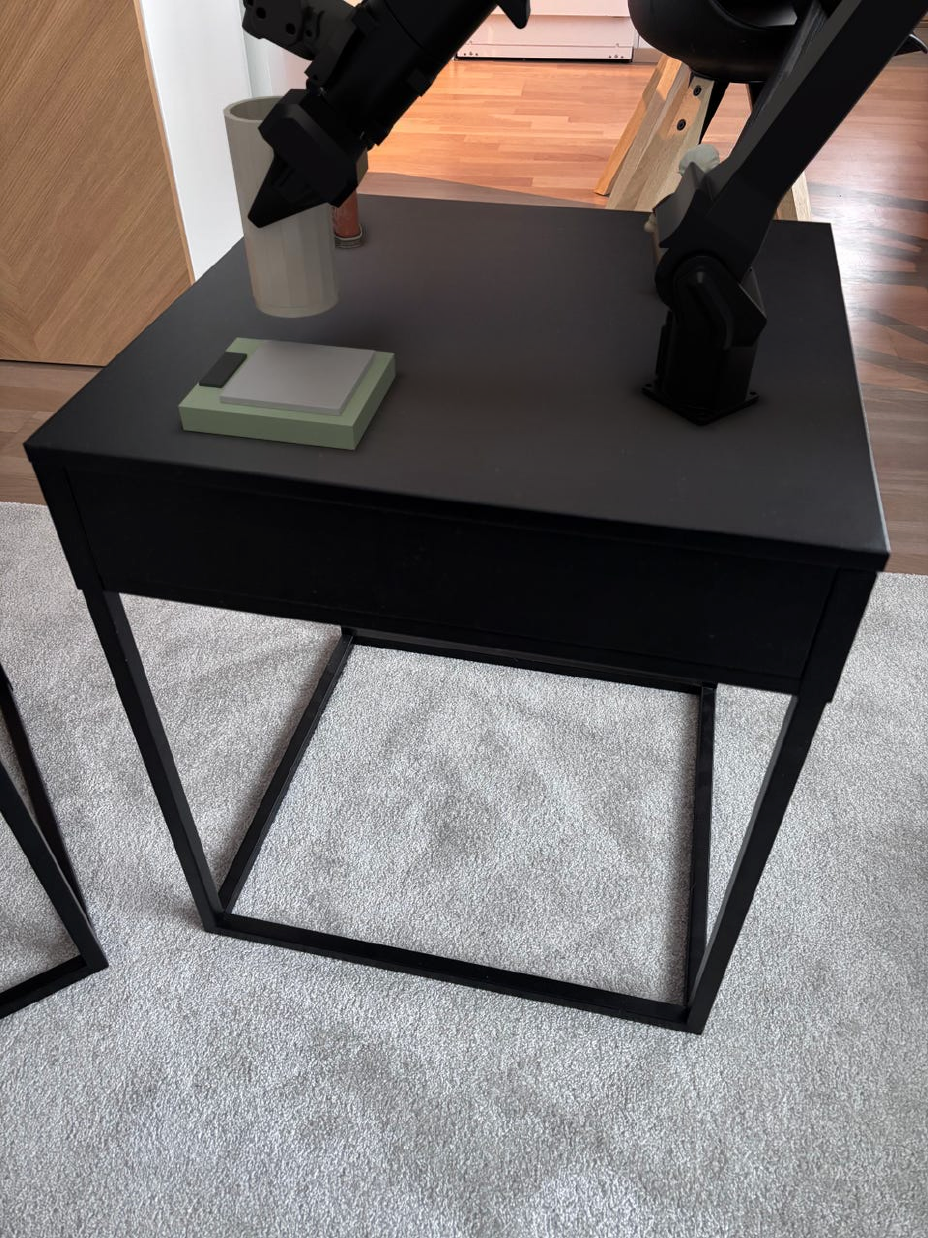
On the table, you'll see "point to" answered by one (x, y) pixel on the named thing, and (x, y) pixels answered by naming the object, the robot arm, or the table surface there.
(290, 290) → the tumbler
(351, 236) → the lighter
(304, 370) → the scale
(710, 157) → the grandmother figurine
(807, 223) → the table surface
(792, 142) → the robot arm
